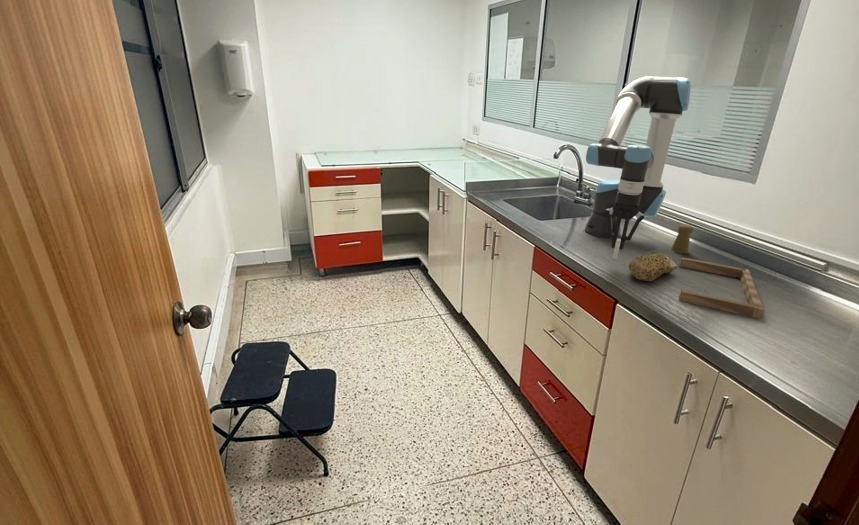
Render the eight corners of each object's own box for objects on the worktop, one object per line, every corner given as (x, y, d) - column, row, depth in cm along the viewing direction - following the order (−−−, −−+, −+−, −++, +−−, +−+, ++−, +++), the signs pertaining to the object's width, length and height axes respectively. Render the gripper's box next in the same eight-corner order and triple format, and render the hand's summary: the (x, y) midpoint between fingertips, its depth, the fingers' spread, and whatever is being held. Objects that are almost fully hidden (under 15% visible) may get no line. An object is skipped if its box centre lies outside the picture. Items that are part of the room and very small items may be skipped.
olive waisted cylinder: (684, 254, 174) (692, 228, 170) (668, 250, 178) (675, 224, 174) (690, 251, 178) (697, 225, 173) (674, 247, 182) (681, 221, 177)
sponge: (649, 267, 164) (612, 264, 154) (660, 249, 160) (623, 245, 151) (677, 288, 154) (639, 285, 144) (690, 269, 150) (652, 265, 141)
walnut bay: (679, 264, 164) (681, 257, 163) (745, 277, 155) (748, 269, 154) (679, 300, 136) (681, 291, 135) (760, 318, 127) (763, 309, 126)
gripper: (607, 191, 148) (594, 256, 157) (649, 197, 142) (633, 264, 152) (610, 187, 154) (597, 250, 163) (651, 193, 149) (635, 257, 158)
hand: (615, 256), depth 157 cm, fingers closed
